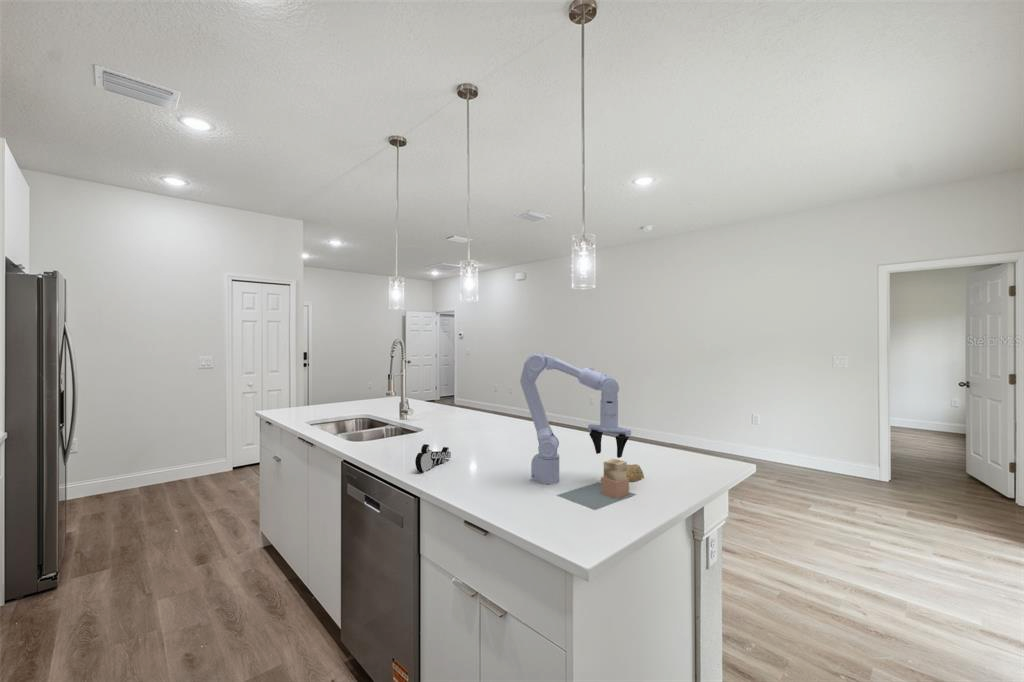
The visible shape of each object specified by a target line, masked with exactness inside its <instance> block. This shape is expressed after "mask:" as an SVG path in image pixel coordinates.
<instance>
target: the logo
mask: <svg viewBox="0 0 1024 682" xmlns="http://www.w3.org/2000/svg"><path fill="white" fill-rule="evenodd" d="M449 449H450V448H449V447H447V446H443V447H442V449H441V451H438V450H437V451H435V450H434V451H433V450H432V449H430V444H425V443H423V444H422V446H421V449H420V452H418V453H417V454H416V457H415V468H416V471H417V472H418V471H419V473H423V472H425V471H426V472H427V471H429V470H431V469H432V467H433V465H436V464H437V465H438V464H445V463H444V462H446V461H447V459H451V458H452V456H451V455H452V452H451V451H449ZM447 462H448V461H447ZM447 462H446V463H447ZM426 472H425V473H426Z"/></svg>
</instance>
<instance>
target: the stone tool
mask: <svg viewBox="0 0 1024 682" xmlns="http://www.w3.org/2000/svg"><path fill="white" fill-rule="evenodd" d="M643 477H644V478H645V476H644V471H643V469H642V468H641V466H640V464H636V463H635V464H634V463H633V464H627V478H629V483H635V482H636V483H637V482H638V481H642V480H643V479H644V478H643ZM642 478H643V479H642Z"/></svg>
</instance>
